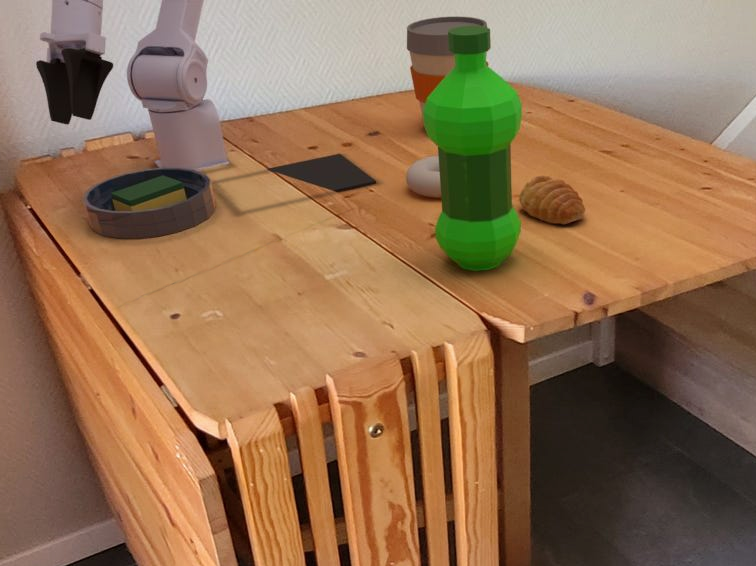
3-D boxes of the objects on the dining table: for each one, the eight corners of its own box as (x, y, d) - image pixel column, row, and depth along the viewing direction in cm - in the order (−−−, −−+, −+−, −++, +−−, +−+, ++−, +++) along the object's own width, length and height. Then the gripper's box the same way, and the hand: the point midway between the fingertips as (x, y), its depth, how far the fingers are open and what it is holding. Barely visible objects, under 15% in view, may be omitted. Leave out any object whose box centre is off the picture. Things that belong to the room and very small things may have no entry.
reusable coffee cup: (445, 112, 161) (439, 13, 151) (507, 122, 155) (505, 20, 145) (397, 133, 153) (387, 30, 144) (460, 145, 147) (455, 39, 138)
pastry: (598, 219, 122) (599, 189, 119) (554, 232, 119) (554, 202, 117) (555, 197, 128) (555, 168, 126) (513, 209, 126) (512, 180, 123)
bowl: (198, 187, 137) (192, 159, 135) (231, 225, 126) (224, 195, 123) (82, 212, 132) (73, 183, 129) (104, 253, 120) (95, 222, 118)
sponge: (169, 201, 132) (163, 175, 130) (188, 208, 129) (182, 182, 127) (117, 219, 127) (110, 193, 125) (136, 227, 125) (129, 200, 123)
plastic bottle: (463, 238, 119) (450, 16, 104) (539, 253, 115) (537, 23, 99) (418, 269, 112) (398, 37, 97) (497, 286, 108) (489, 46, 92)
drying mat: (340, 156, 145) (339, 153, 145) (376, 183, 135) (376, 180, 135) (210, 183, 138) (209, 180, 138) (238, 214, 129) (237, 211, 128)
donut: (395, 185, 135) (425, 206, 128) (393, 160, 133) (423, 180, 125) (459, 171, 138) (492, 191, 131) (458, 147, 136) (491, 165, 129)
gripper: (24, 4, 121) (18, 116, 123) (65, -17, 111) (58, 106, 113) (81, 22, 126) (74, 130, 128) (125, 3, 116) (117, 121, 118)
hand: (70, 120), depth 121 cm, fingers open, 7 cm apart
